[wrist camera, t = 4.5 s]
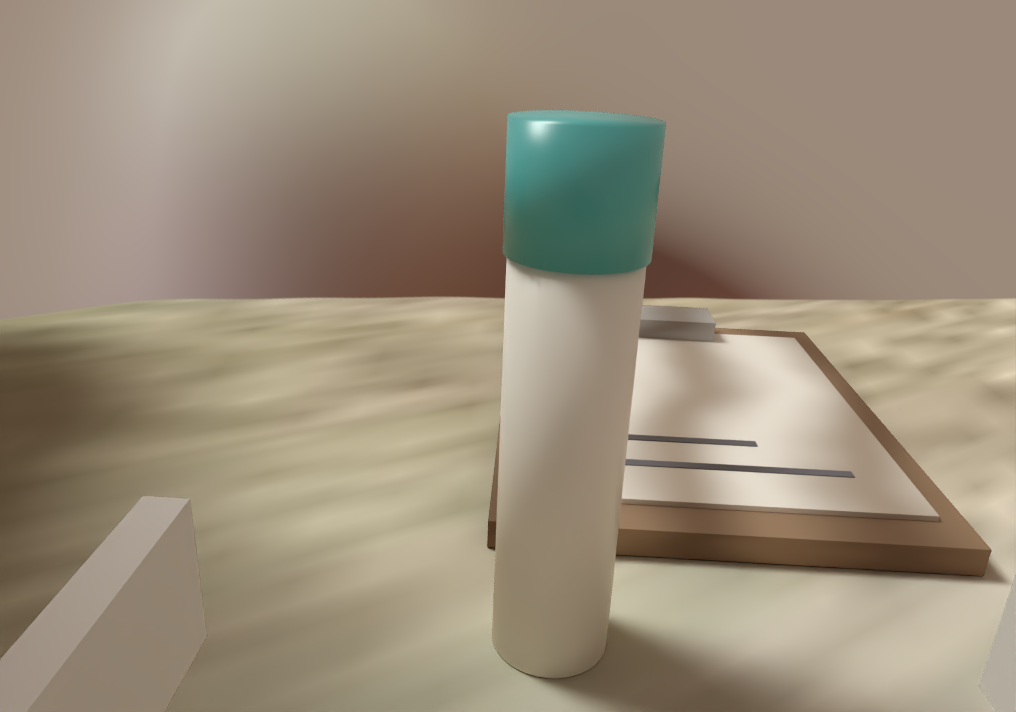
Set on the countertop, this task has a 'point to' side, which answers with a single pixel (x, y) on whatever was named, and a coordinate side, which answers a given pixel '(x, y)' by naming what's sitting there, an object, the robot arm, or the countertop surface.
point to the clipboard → (769, 460)
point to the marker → (568, 374)
